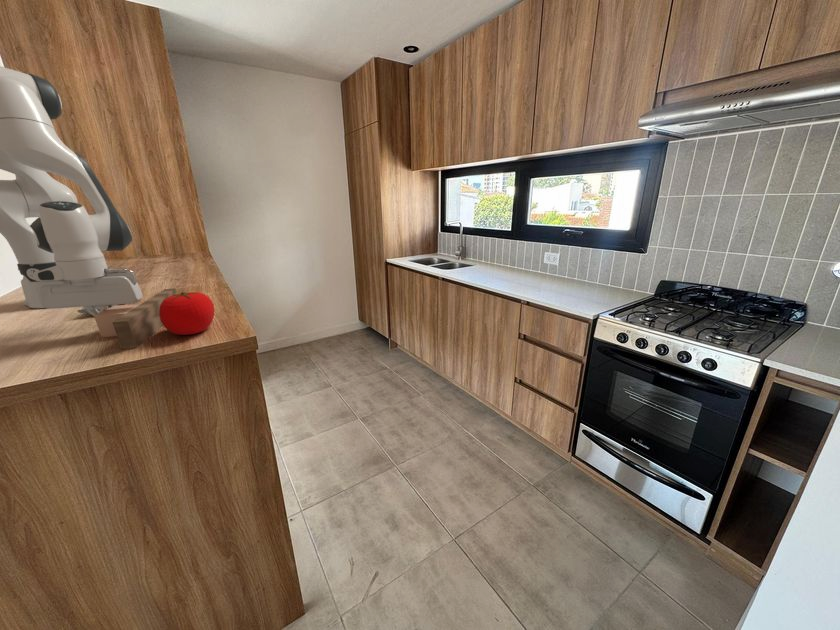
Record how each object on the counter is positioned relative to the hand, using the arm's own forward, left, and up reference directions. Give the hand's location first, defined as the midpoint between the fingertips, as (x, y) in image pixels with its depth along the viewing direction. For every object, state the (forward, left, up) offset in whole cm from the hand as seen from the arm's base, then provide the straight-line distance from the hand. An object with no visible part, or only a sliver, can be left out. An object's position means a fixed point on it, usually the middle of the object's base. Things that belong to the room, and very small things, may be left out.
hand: (102, 321), depth 87 cm
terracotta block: (0, +5, -3) cm, 6 cm away
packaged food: (-21, -9, -4) cm, 23 cm away
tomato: (+6, +22, -3) cm, 23 cm away
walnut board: (-1, +11, -3) cm, 12 cm away
